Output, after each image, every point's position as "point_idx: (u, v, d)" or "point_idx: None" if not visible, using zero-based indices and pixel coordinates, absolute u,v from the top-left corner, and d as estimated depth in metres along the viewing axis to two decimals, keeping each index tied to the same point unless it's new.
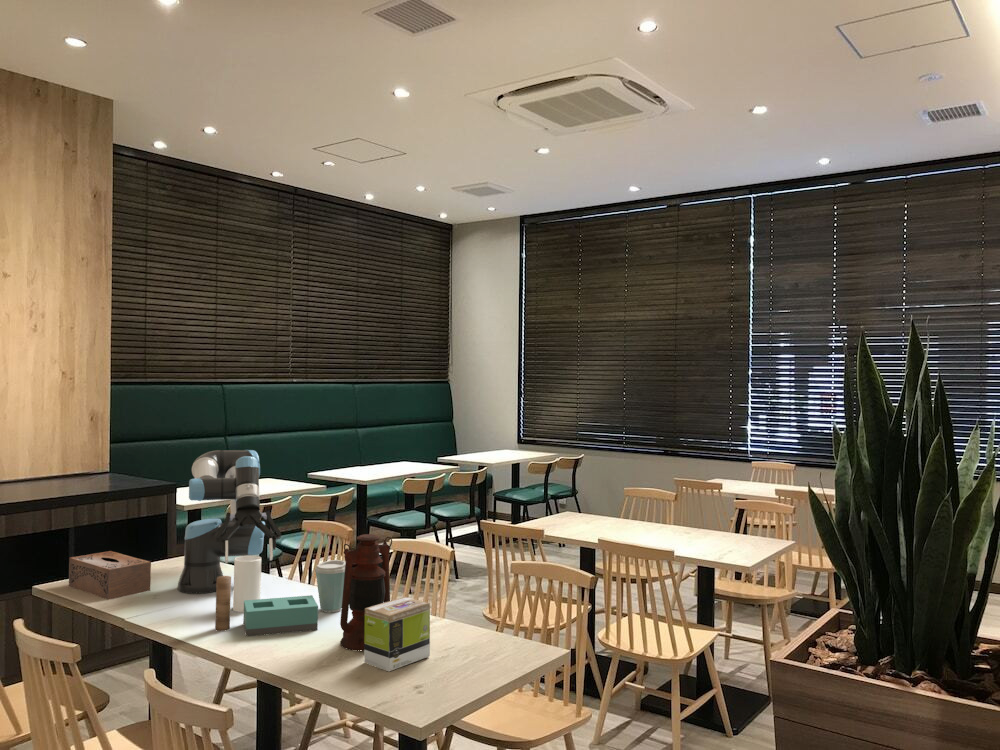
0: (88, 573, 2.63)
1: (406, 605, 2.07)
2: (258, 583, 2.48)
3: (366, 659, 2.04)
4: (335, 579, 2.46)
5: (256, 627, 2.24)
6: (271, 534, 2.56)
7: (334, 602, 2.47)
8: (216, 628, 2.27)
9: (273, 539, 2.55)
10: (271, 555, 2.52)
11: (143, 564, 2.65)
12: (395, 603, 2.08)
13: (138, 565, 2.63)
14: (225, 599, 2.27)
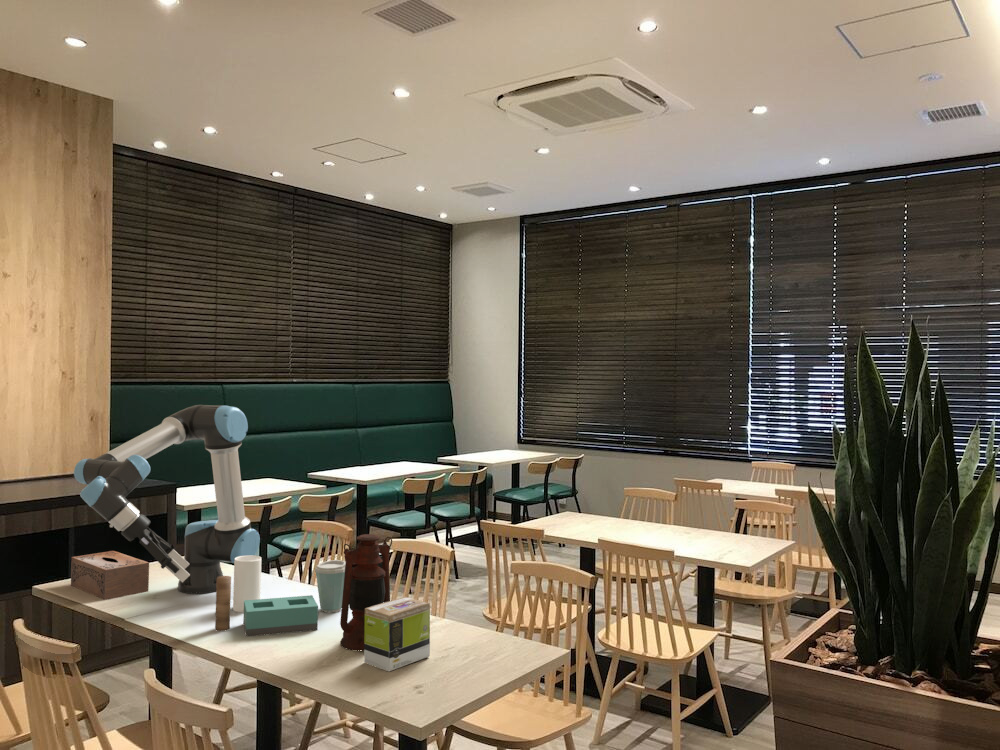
0: (87, 573, 2.63)
1: (406, 605, 2.07)
2: (258, 583, 2.48)
3: (366, 659, 2.04)
4: (335, 579, 2.46)
5: (256, 627, 2.24)
6: None
7: (334, 602, 2.47)
8: (216, 628, 2.27)
9: None
10: (181, 581, 2.18)
11: (141, 565, 2.64)
12: (395, 603, 2.08)
13: (136, 566, 2.62)
14: (225, 599, 2.27)
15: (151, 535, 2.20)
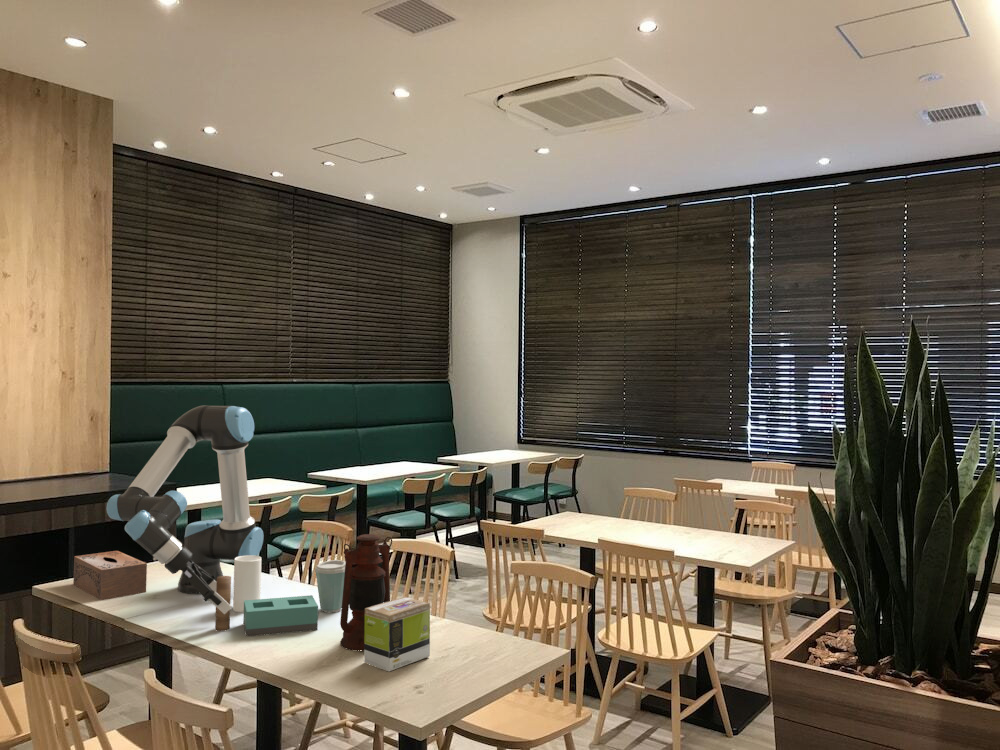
0: (87, 572, 2.64)
1: (406, 605, 2.07)
2: (258, 583, 2.48)
3: (366, 659, 2.04)
4: (335, 579, 2.46)
5: (256, 627, 2.24)
6: None
7: (334, 602, 2.47)
8: (216, 628, 2.27)
9: None
10: (223, 612, 2.22)
11: (138, 565, 2.63)
12: (395, 603, 2.08)
13: (133, 566, 2.62)
14: (225, 599, 2.27)
15: (193, 567, 2.24)
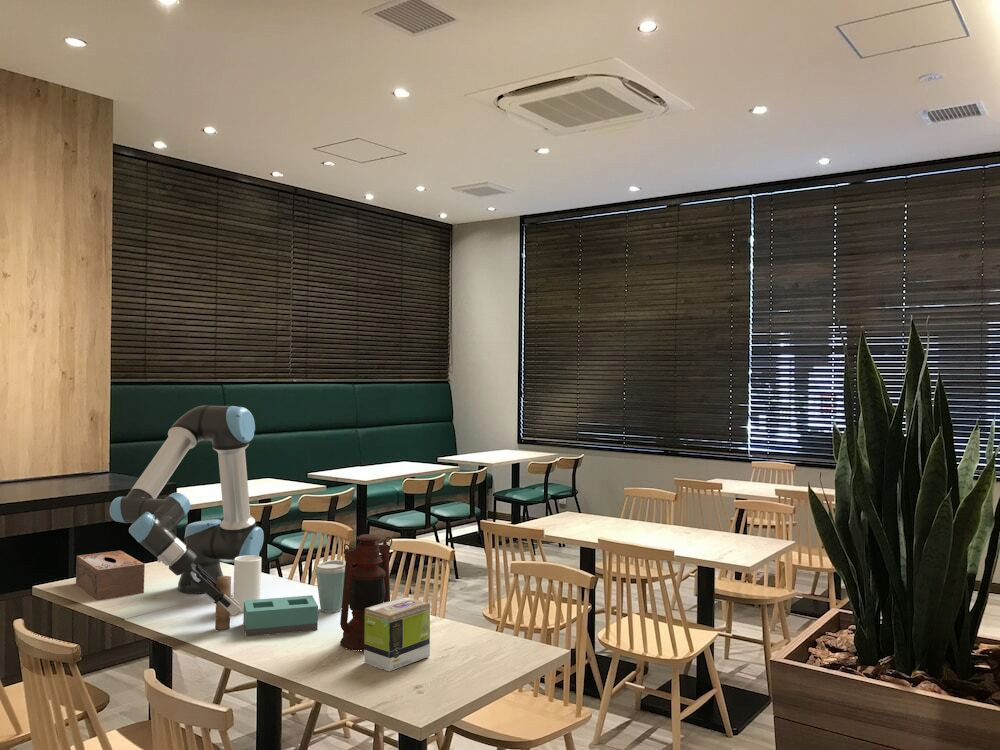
0: (86, 572, 2.64)
1: (406, 605, 2.07)
2: (258, 583, 2.48)
3: (366, 659, 2.04)
4: (335, 579, 2.46)
5: (256, 627, 2.24)
6: None
7: (334, 602, 2.47)
8: (216, 628, 2.27)
9: None
10: (232, 614, 2.28)
11: (136, 566, 2.62)
12: (395, 603, 2.08)
13: (130, 567, 2.61)
14: None
15: (199, 570, 2.25)
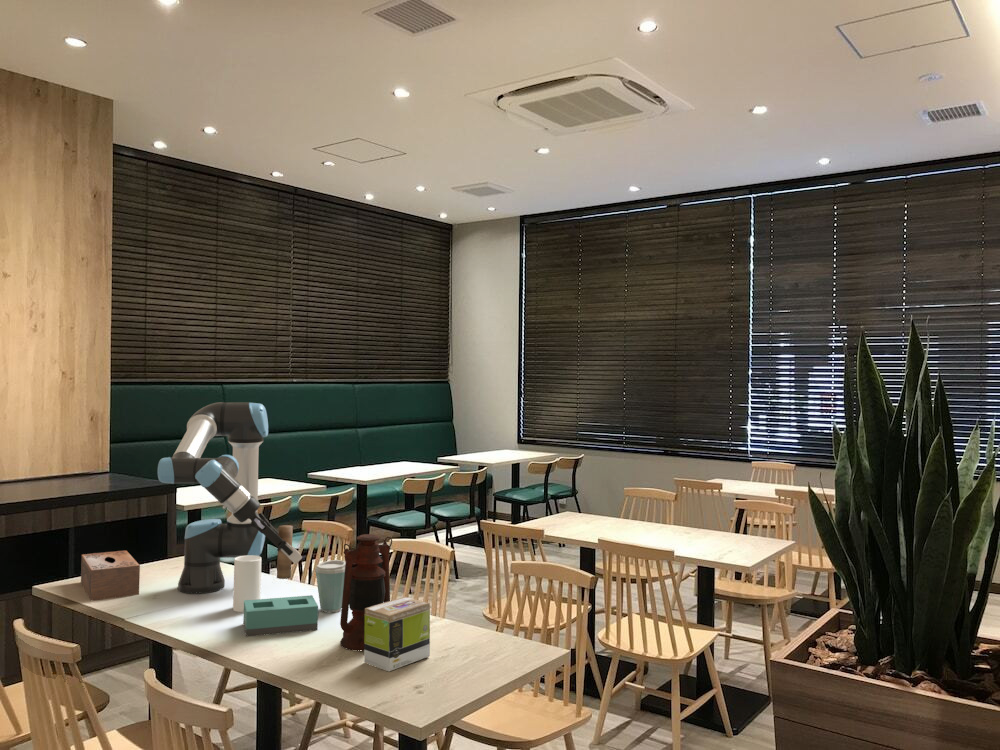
0: (86, 571, 2.65)
1: (406, 605, 2.07)
2: (258, 583, 2.48)
3: (366, 659, 2.04)
4: (335, 579, 2.46)
5: (256, 627, 2.24)
6: None
7: (334, 602, 2.47)
8: (278, 576, 2.30)
9: (282, 548, 2.28)
10: (294, 563, 2.30)
11: (131, 567, 2.60)
12: (395, 603, 2.08)
13: (125, 568, 2.59)
14: None
15: (262, 518, 2.28)
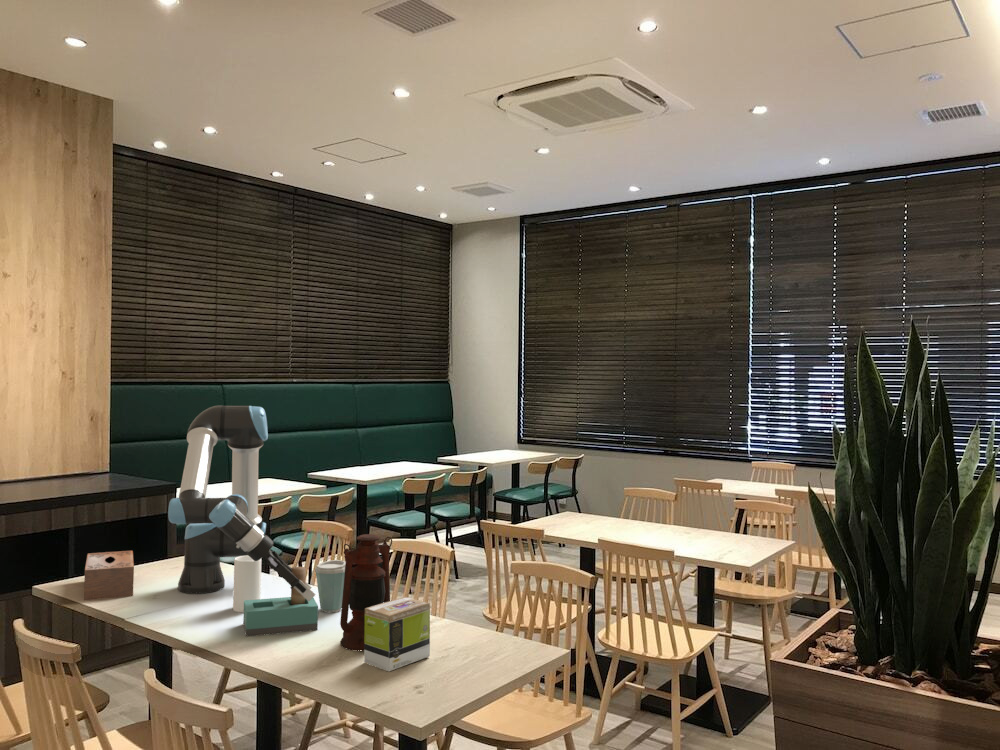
0: None
1: (406, 605, 2.07)
2: (258, 583, 2.48)
3: (366, 659, 2.04)
4: (335, 579, 2.46)
5: (256, 627, 2.24)
6: None
7: (334, 602, 2.47)
8: None
9: (295, 586, 2.29)
10: None
11: (124, 568, 2.59)
12: (395, 603, 2.08)
13: (118, 569, 2.58)
14: None
15: (275, 555, 2.30)
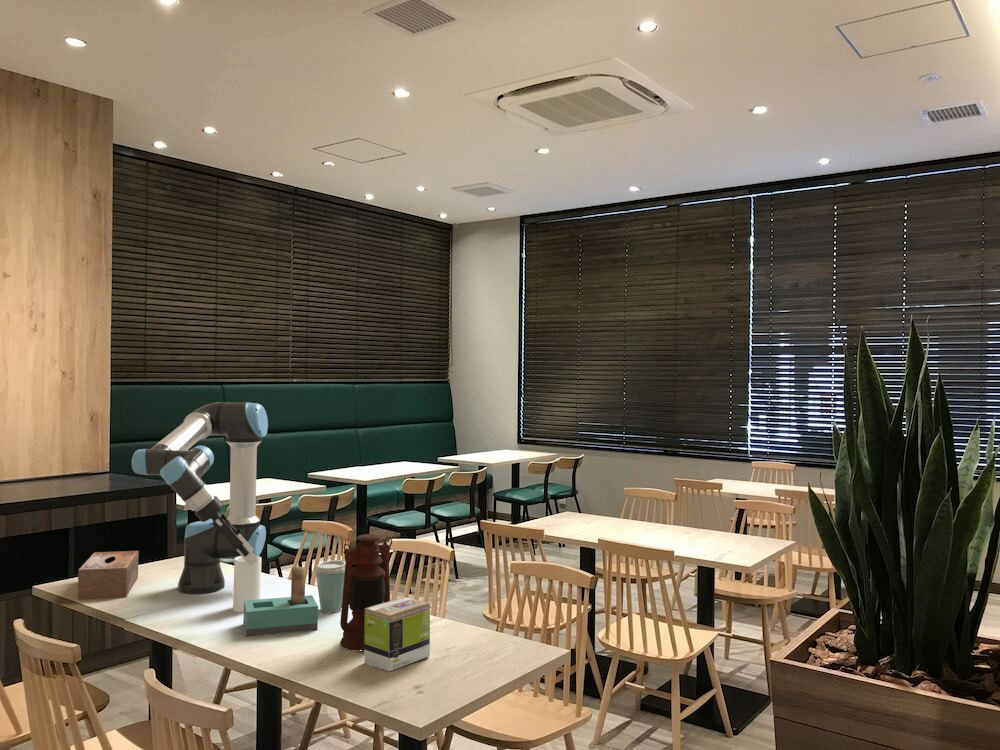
0: None
1: (406, 605, 2.07)
2: (258, 583, 2.48)
3: (366, 659, 2.04)
4: (335, 579, 2.46)
5: (256, 627, 2.24)
6: None
7: (334, 602, 2.47)
8: None
9: (238, 548, 2.22)
10: (249, 564, 2.24)
11: (117, 569, 2.57)
12: (395, 603, 2.08)
13: (112, 569, 2.57)
14: (301, 589, 2.32)
15: (223, 518, 2.26)
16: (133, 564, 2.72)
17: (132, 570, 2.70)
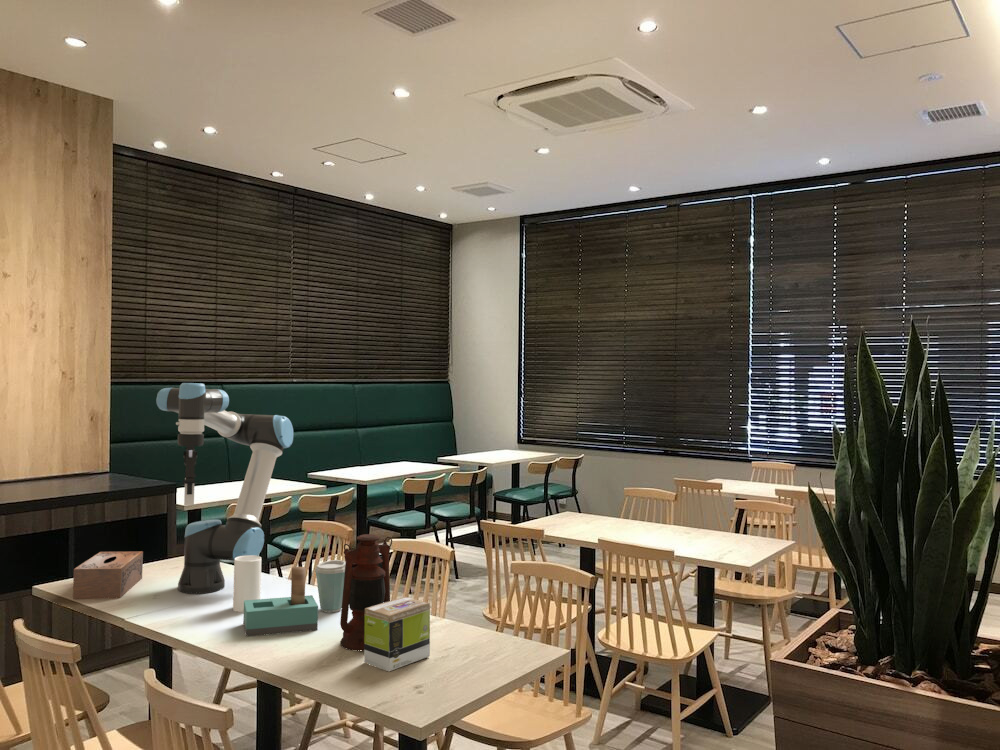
0: None
1: (406, 605, 2.07)
2: (258, 583, 2.48)
3: (366, 659, 2.04)
4: (335, 579, 2.46)
5: (256, 627, 2.24)
6: None
7: (334, 602, 2.47)
8: None
9: (187, 484, 2.35)
10: (184, 503, 2.35)
11: (112, 569, 2.57)
12: (395, 603, 2.08)
13: (106, 570, 2.56)
14: (301, 589, 2.32)
15: (195, 454, 2.41)
16: (133, 565, 2.71)
17: (131, 571, 2.69)
